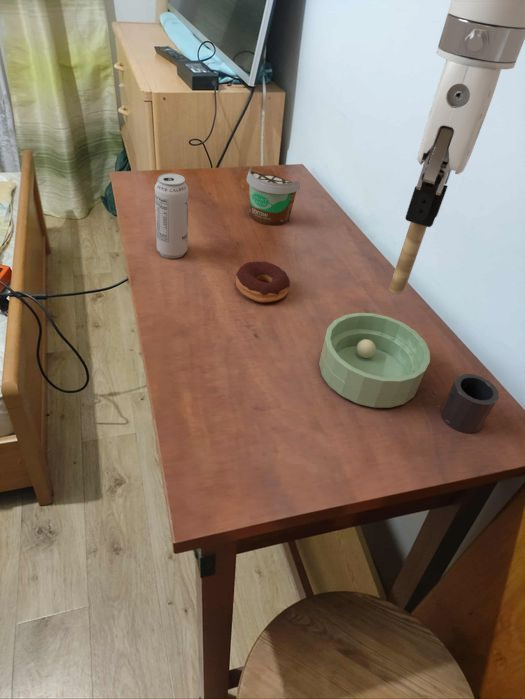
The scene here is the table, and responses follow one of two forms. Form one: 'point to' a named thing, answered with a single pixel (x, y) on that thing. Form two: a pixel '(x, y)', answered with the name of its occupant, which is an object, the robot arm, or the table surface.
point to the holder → (469, 403)
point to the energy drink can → (171, 215)
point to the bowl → (374, 360)
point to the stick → (407, 257)
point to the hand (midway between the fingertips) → (421, 217)
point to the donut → (257, 290)
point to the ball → (366, 348)
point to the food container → (271, 198)
